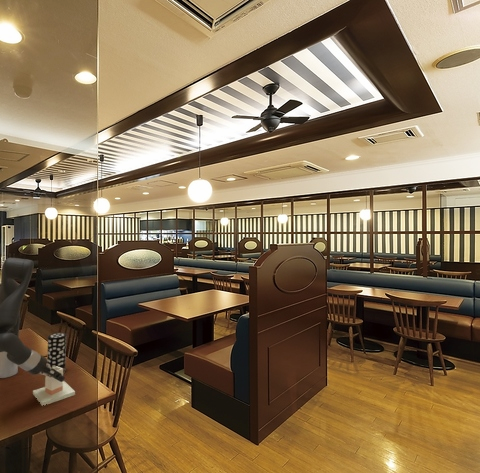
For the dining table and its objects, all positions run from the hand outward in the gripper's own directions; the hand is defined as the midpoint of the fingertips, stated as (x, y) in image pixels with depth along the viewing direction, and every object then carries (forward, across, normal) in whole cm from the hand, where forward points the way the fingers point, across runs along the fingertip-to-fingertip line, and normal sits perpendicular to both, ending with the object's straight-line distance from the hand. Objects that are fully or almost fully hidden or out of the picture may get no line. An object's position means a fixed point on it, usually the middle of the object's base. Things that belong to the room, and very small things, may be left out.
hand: (57, 377), depth 139 cm
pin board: (+4, 0, +6) cm, 7 cm away
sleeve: (+3, 0, +5) cm, 6 cm away
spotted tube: (+13, +19, -3) cm, 24 cm away
